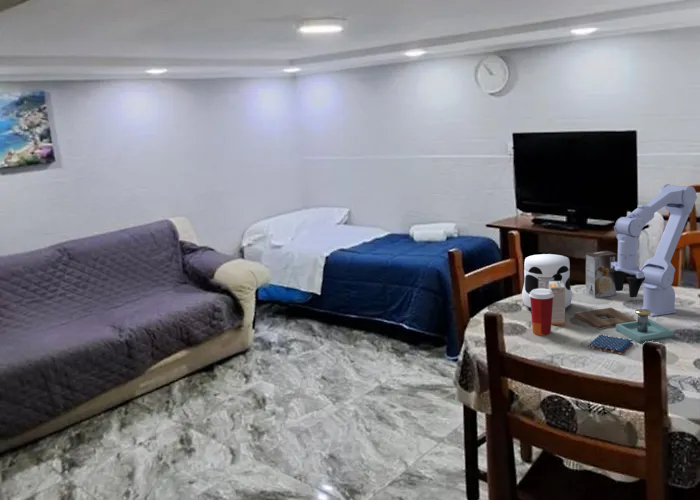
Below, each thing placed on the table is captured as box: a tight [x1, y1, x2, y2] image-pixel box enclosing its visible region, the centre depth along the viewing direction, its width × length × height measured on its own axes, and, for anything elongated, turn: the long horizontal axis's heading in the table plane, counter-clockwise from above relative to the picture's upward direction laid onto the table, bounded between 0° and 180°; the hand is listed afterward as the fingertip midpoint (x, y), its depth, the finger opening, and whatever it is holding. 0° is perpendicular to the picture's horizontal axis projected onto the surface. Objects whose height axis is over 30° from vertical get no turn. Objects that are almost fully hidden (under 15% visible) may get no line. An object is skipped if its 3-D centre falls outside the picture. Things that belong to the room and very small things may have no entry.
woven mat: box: [587, 334, 634, 355], centre depth 198 cm, size 10×11×2 cm
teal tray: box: [615, 318, 675, 344], centre depth 205 cm, size 12×12×2 cm
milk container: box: [521, 253, 573, 310], centre depth 234 cm, size 17×17×18 cm
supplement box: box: [549, 281, 566, 325], centre depth 221 cm, size 8×5×13 cm, turn 168°
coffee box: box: [585, 250, 618, 299], centre depth 244 cm, size 9×6×16 cm
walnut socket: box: [574, 307, 637, 330], centre depth 220 cm, size 14×14×1 cm
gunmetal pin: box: [635, 309, 651, 333], centre depth 205 cm, size 4×4×7 cm
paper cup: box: [529, 289, 554, 336], centre depth 211 cm, size 8×8×14 cm
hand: (626, 293), depth 215 cm, fingers open, 7 cm apart
